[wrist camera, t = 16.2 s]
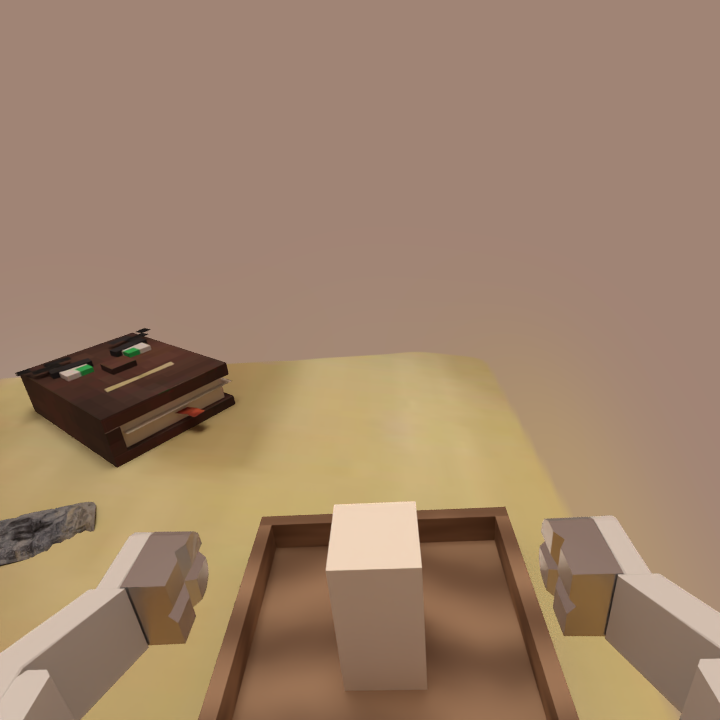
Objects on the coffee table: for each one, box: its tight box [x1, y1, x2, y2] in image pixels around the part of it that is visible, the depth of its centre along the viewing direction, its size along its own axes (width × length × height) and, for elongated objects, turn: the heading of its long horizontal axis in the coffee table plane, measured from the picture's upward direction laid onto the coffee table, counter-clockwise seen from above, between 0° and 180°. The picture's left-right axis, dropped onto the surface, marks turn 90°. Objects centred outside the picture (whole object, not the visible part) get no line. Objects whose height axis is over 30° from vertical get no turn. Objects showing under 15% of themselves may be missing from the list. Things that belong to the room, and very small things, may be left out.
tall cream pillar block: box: [326, 501, 427, 691], centre depth 29 cm, size 5×5×10 cm
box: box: [198, 507, 579, 720], centre depth 31 cm, size 20×20×4 cm
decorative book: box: [15, 328, 235, 468], centre depth 66 cm, size 19×8×30 cm
